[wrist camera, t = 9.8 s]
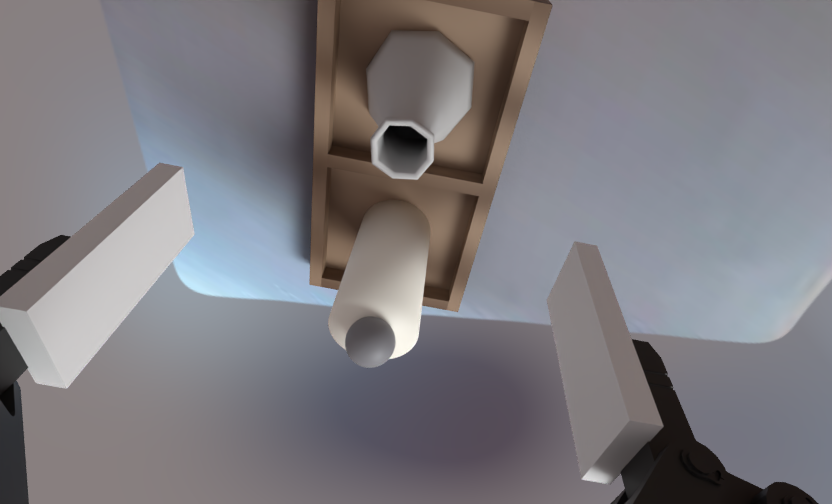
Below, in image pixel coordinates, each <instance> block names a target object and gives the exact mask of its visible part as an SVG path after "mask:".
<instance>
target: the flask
mask: <svg viewBox="0 0 832 504" xmlns="http://www.w3.org/2000/svg"><path fill="white" fill-rule="evenodd" d="M474 63H475V62H474V61H473V60H471V59H470V58H469V57H468V56H467V55H466V54H465V53H463V52H462V51H461V50H460V49H459V48H458V47H456V46H455V45H454V44H453V43H452V42H451V41H449V40H448V39H447V38H446V37H445V36H444V35H442V34H441V33H440V32H439V31H402V30H391V32H390V33H389V35H388V36H387V38H386V39H385V41H384V42H383V44H382V46H381V47H380V49H379V50H378V52H377V53H376V55H375V56H374V58H373V59H372V61H371V62H370V64H369V65H368V67H367V68H366V75H367V92H368V108H369V114H370V116H371V117H372V118H373V119H374V121H375V122H376V123H377V125H378V129H377V130H376V131H375V133H374V134H373V135H372V137H371V139H370V143H371V159H372V164H373V165H374V166H376V167H377V168H378V169H380V170H381V171H383V172H384V173H385V174H387V175H388V176H390V177H391V178H392V179H414V180H418V179H419V178H420V176H421V175H422V174H423V173H424V172H425V171H426V169H427V168H428V167H429V166H430V165H431V164H432V163H433V161H434V143H437V142H440V141H442V140H444V139H445V138H446V137H447V135H448V134H449V133H450V132H451V131H452V130H453V128H454V127H455V126H456V125H457V124H458V123H459V121H460V120H461V119H462V118H463V117H464V116H465V114H466V113H467V112H468V111H469V110H470V108H471V103H472V90H473V76H474Z"/></svg>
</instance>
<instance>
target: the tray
mask: <svg viewBox="0 0 832 504" xmlns="http://www.w3.org/2000/svg"><path fill="white" fill-rule="evenodd" d="M551 9H552V4H551V3H550V2H549V0H318V12H317V46H316V80H315V115H314V149H313V184H312V218H311V252H310V285H315V286H320V287H325V288H331V289H336V290H338V289H339V286H340V284H341V281H342V278H343V275H344V272H345V269H346V266H347V263H348V260H349V257H350V255H351V252H352V249H353V246H354V243H355V240H356V237H357V234H358V231H359V229H360V226H361V223H362V220H363V217H364V215H365V213H366V212H367V211H368V209H369V208H371V207H372V206H373V205H375V204H377V203H379V202H381V201H385V200H401V201H405V202H408V203H411V204H413V205H414V206H416V207H417V208H419V209H420V210H421V211H422V212H423V213H424V214H425V216H426V217H427V219H428V221H429V224H430V228H431V234H430V242H429V251H428V259H427V267H426V276H425V284H424V293H423V301H422V305H423V306H428V307H433V308H439V309H444V310H450V311H455V312H458V310H459V307H460V303H461V300H462V297H463V294H464V290H465V287H466V284H467V281H468V278H469V274H470V271H471V268H472V265H473V261H474V258H475V255H476V252H477V248H478V245H479V242H480V239H481V235H482V232H483V229H484V226H485V222H486V219H487V216H488V213H489V209H490V206H491V203H492V200H493V197H494V193H495V190H496V187H497V184H498V180H499V177H500V174H501V171H502V167H503V164H504V161H505V158H506V154H507V151H508V148H509V145H510V141H511V138H512V135H513V132H514V128H515V125H516V122H517V119H518V116H519V112H520V109H521V106H522V103H523V99H524V96H525V93H526V90H527V86H528V83H529V80H530V77H531V73H532V70H533V67H534V64H535V60H536V57H537V54H538V51H539V47H540V44H541V41H542V38H543V35H544V31H545V28H546V25H547V22H548V18H549V15H550V12H551ZM391 30H402V31H439V32H440V33H441V34H442V35H444V36H445V37H446V38H447V39H448V40H449V41H451V42H452V43H453V44H454V45H455V46H456V47H458V48H459V49H460V50H461V51H462V52H463V53H465V54H466V55H467V56H468V57H469V58H470V59H471V60H473V61H474V62H475V63H474V76H473V90H472V103H471V108H470V110H469V111H468V112H467V113H466V114H465V116H464V117H463V118H462V119H461V120H460V121H459V123H458V124H457V125H456V126H455V127H454V128H453V130H452V131H451V132H450V133H449V134H448V135H447V137H446V138H445V139H444V140H442V141H440V142H437V143H434V161H433V163H432V164H431V165H430V166H429V167H428V168H427V169H426V171H425V172H424V173H423V174H422V175H421V176H420V178H419V179H418V180H414V179H392V178H391V177H390V176H388V175H387V174H385V173H384V172H383V171H381V170H380V169H378V168H377V167H376V166H374V165H373V164H372V159H371V143H370V139H371V137H372V135H373V134H374V133H375V131H376V130H377V129H378V125H377V123H376V122H375V121H374V119H373V118H372V117H371V116H370V114H369V108H368V92H367V75H366V68H367V67H368V65H369V64H370V62H371V61H372V59H373V58H374V56H375V55H376V53H377V52H378V50H379V49H380V47H381V46H382V44H383V42H384V41H385V39H386V38H387V36H388V35H389V33H390V32H391Z"/></svg>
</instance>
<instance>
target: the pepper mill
mask: <svg viewBox="0 0 832 504" xmlns="http://www.w3.org/2000/svg"><path fill="white" fill-rule="evenodd" d="M430 234H431V228H430V224H429V221H428V219H427V217H426V216H425V214H424V213H423V212H422V211H421V210H420V209H419V208H417V207H416V206H414V205H413V204H411V203H408V202H405V201H401V200H385V201H381V202H379V203H377V204H375V205H373V206H372V207H371V208H369V209H368V211H367V212H366V213H365V215H364V217H363V220H362V223H361V226H360V229H359V231H358V234H357V237H356V240H355V243H354V246H353V249H352V252H351V255H350V257H349V260H348V263H347V266H346V269H345V272H344V275H343V278H342V281H341V284H340V286H339V289H338V292H337V295H336V298H335V301H334V304H333V307H332V310H331V312H330V315H329V320H328V326H329V330H330V333H331V335H332V337H333V338H334V339H335V341H336V342H337V343H338V344H339V345H340V346H341V347H343V348H344V349H345V350H346V351H347V353H348V355H349V357H350V358H351V359H352V360H353V361H354V362H355V363H356V364H358V365H360V366H362V367H368V368H371V367H377V366H380V365H382V364H383V363H385V362H386V361H387V360H388V359H392V358H396V357H399V356H402V355H403V354H405V353H407V352H408V351H410V350H411V349H412V348H413V346H414V345H415V344H416V342H417V339H418V333H419V326H420V318H421V310H422V301H423V293H424V284H425V276H426V267H427V259H428V251H429V242H430Z"/></svg>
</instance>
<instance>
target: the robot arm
mask: <svg viewBox="0 0 832 504" xmlns="http://www.w3.org/2000/svg"><path fill="white" fill-rule="evenodd" d="M193 236H194V229H193V223H192V217H191V212H190V206H189V200H188V194H187V188H186V183H185V177H184V171H183V167H179V166H174V165H169V164H163V163H159V164H157V165H156V166H155V167H154V168H153V169H151V170H150V171H149V172H148V173H147V174H145V175H144V176H143V177H142V178H141V179H140V180H138V181H137V182H136V183H135V184H134V185H132V186H131V187H130V188H129V189H128V190H126V191H125V192H124V193H123V194H122V195H120V196H119V197H118V198H117V199H116V200H114V201H113V202H112V203H111V204H110V205H109V206H107V207H106V208H105V209H104V210H103V211H102V212H100V213H99V214H98V215H97V216H95V217H94V218H93V219H92V220H91V221H89V222H88V223H87V224H86V225H85V226H84V227H82V228H81V229H80V230H79V231H78V232H76V233H75V234H74V235H73V236H72V237H70V236H64V235H60V236H58V237H55V238H53V239H51V240H49V241H47V242H45V243H42V244H40V245H39V246H38V247H36V248H35V249H34V250H32V251H31V252H30V253H29V254H27V255H26V256H25V257H24V260H20V261H19V262H18V263H16V264H15V265H14V266H13V267H11V270H7V271H6V272H5V273H4V274H2V275H1V276H0V504H29V502H28V486H27V473H26V459H25V445H24V431H23V418H22V404H21V390H20V387H19V385H18V382H17V381H16V380H17V379H18V378H19V377H20V375H21V374H23V372H24V371H25V370H26V369H28V370H29V372H30V374H31V376H32V377H33V379H34V381H35V382H36V383H38V384H44V385H50V386H55V387H61V388H68V387H69V385H70V384H71V383H72V382H73V380H74V379H75V378H76V377H77V376H78V374H79V373H80V372H81V371H82V370H83V368H84V367H85V366H86V365H87V363H88V362H89V361H90V360H91V359H92V358H93V356H94V355H95V354H96V353H97V352H98V350H99V349H100V348H101V347H102V346H103V344H104V343H105V342H106V340H107V339H108V338H109V337H110V336H111V335H112V333H113V332H114V331H115V330H116V328H117V327H118V326H119V325H120V324H121V323H122V321H123V320H124V319H125V318H126V317H127V315H128V314H129V313H130V312H131V310H132V309H133V308H134V307H135V306H136V304H137V303H138V302H139V301H140V300H141V298H142V297H143V296H144V295H145V294H146V292H147V291H148V290H149V289H150V288H151V286H152V285H153V284H154V283H155V282H156V280H157V279H158V278H159V277H160V276H161V274H162V273H163V272H164V271H165V269H166V268H167V267H168V266H169V265H170V263H171V262H172V261H173V260H174V259H175V257H176V256H177V255H178V254H179V253H180V251H181V250H182V249H183V248H184V247H185V245H186V244H187V243H188V242H189V241H190V239H191V238H192V237H193ZM547 304H548V309H549V314H550V319H551V324H552V329H553V334H554V340H555V345H556V350H557V355H558V361H559V365H560V371H561V376H562V381H563V386H564V392H565V397H566V402H567V407H568V412H569V418H570V423H571V428H572V433H573V438H574V444H575V449H576V454H577V459H578V464H579V470H580V475H581V479H582V480H589V481H594V482H600V483H605V484H611V483H612V482H613V481H614V480H615V479H616V478H617V477H618V476H619V475H620V474H621V475H622V479H623V483H624V486H625V489H624V491H622V493H621V494H620V495H619V496H618V497H617V498H616V499H615V500H614V501H613V502H612V503H611V504H818V503H817V502H816V501H815V500H814V499H813V498H812V497H811V496H809V495H808V494H807V493H805V492H804V491H802V490H801V489H799V488H798V487H796V486H793V485H791V484H788V483H785V482H774V483H773V484H771V485H769V486H768V487H767V488H765V489H761V488H759V487H757V486H755V485H753V484H751V483H749V482H747V481H744V480H742V479H740V478H738V477H736V476H734V475H732V474H730V473H728V472H727V471H726V470H725V467H724V466H723V464H722V463H721V462H720V460H719V459H718V457H717V456H716V455H715V454H714V453H713V452H712V451H710V450H709V449H708V448H707V447H706V446H704V445H702V444H701V443H699V442H697V441H696V440H695V438H694V435H693V433H692V430H691V428H690V426H689V423H688V421H687V419H686V416H685V414H684V411H683V409H682V407H681V405H680V402H679V400H678V397H677V395H676V392H675V391H674V390H673V385H672V383H671V380H670V378H669V377H667V375H668V373H667V371H666V368H665V366H664V364H663V361H662V359H661V357H660V356H659V355H658V354H657V352H656V351H655V350H654V349H653V348H652V346H651V345H650V344H649V343H648V342H644V341H638V340H633V339H631V337H630V334H629V331H628V328H627V326H626V323H625V320H624V318H623V315H622V312H621V309H620V307H619V304H618V301H617V299H616V296H615V293H614V290H613V288H612V285H611V282H610V280H609V277H608V274H607V271H606V269H605V266H604V263H603V261H602V258H601V255H600V252H599V250H598V247H597V246H596V245H590V244H585V243H580V242H574V244H573V246H572V248H571V250H570V252H569V255H568V257H567V259H566V261H565V263H564V265H563V267H562V269H561V271H560V273H559V276H558V278H557V280H556V282H555V284H554V286H553V288H552V290H551V292H550V295H549V297H548V299H547Z"/></svg>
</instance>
